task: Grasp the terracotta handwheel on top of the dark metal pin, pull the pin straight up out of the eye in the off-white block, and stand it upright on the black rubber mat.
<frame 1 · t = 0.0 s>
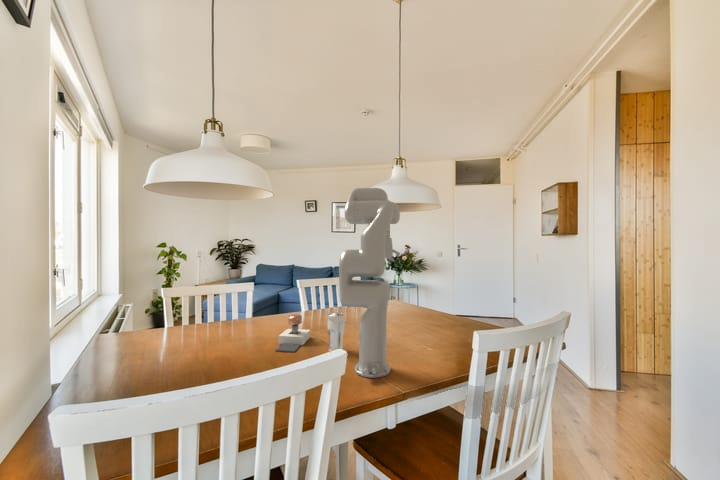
hand: (382, 269, 154), 31 cm above the table, tool pointing down, fingers open, 9 cm apart
rubber mat: (288, 348, 130), on the table
eye block: (294, 340, 141), on the table
beer glass: (335, 351, 129), on the table
hook pin: (294, 328, 141), in the eye block
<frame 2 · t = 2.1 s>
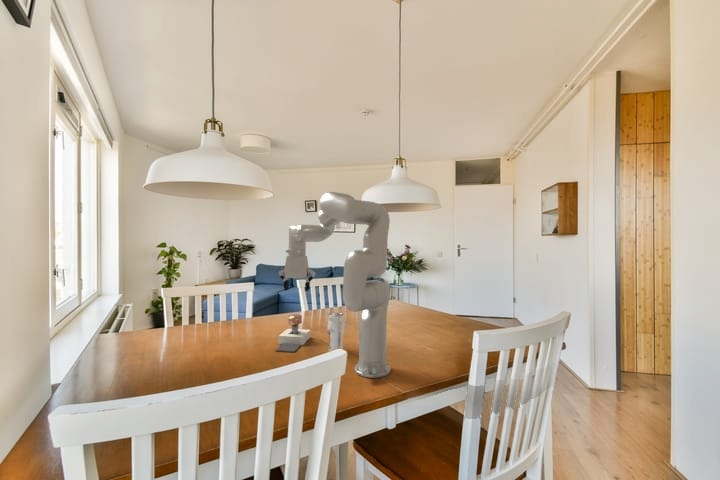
hand: (296, 290, 141), 23 cm above the table, tool pointing down, fingers open, 9 cm apart
nothing on the table moved.
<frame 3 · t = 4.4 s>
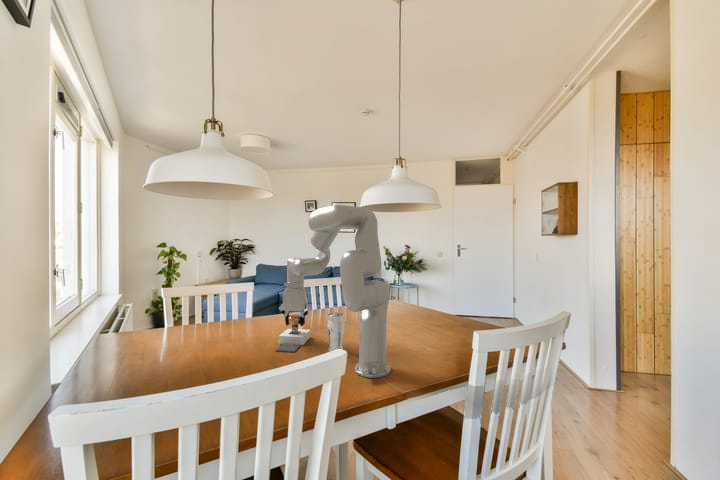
hand: (295, 324, 141), 7 cm above the table, tool pointing down, fingers closed on hook pin, 6 cm apart
hook pin: (294, 328, 141), in the eye block, touching gripper
everything else where it was.
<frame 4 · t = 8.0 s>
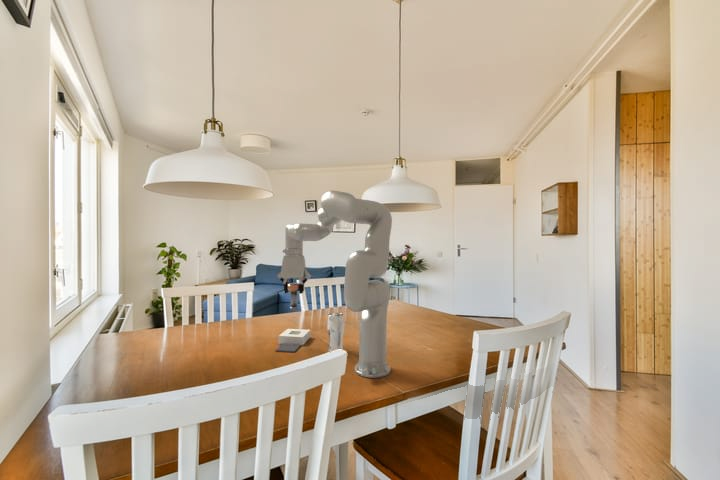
hand: (294, 292, 138), 22 cm above the table, tool pointing down, fingers closed on hook pin, 6 cm apart
hook pin: (294, 296, 138), point 21 cm above the table, touching gripper
everything else where it was.
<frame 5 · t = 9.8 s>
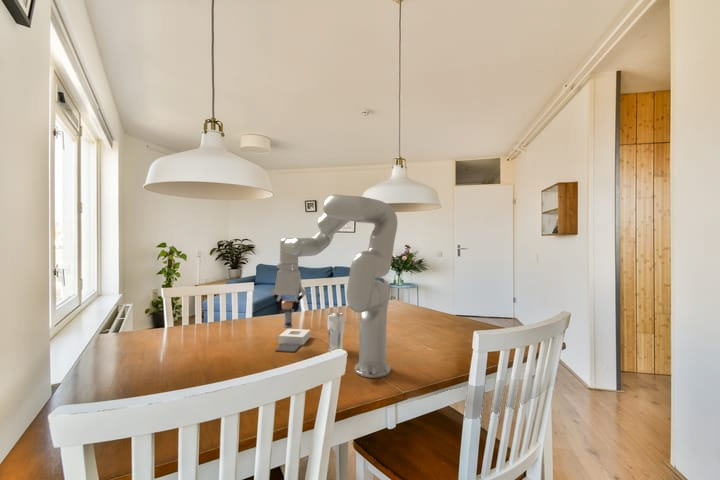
hand: (288, 310, 130), 16 cm above the table, tool pointing down, fingers closed on hook pin, 6 cm apart
hook pin: (288, 313, 130), point 14 cm above the table, touching gripper
everything else where it was.
when the fingers open (9 cm above the table, at t = 11.6 s): hook pin drops 1 cm, resting on rubber mat.
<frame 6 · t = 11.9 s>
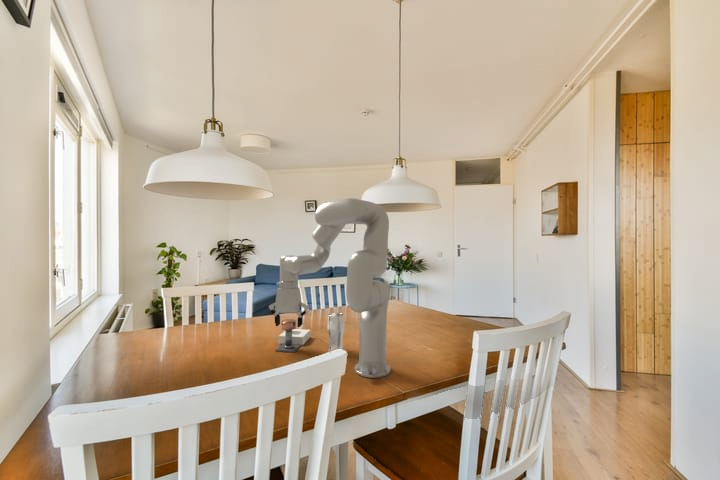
hand: (288, 325, 130), 10 cm above the table, tool pointing down, fingers open, 9 cm apart
hook pin: (288, 334, 130), on the rubber mat, point 6 cm above the table
everything else where it was.
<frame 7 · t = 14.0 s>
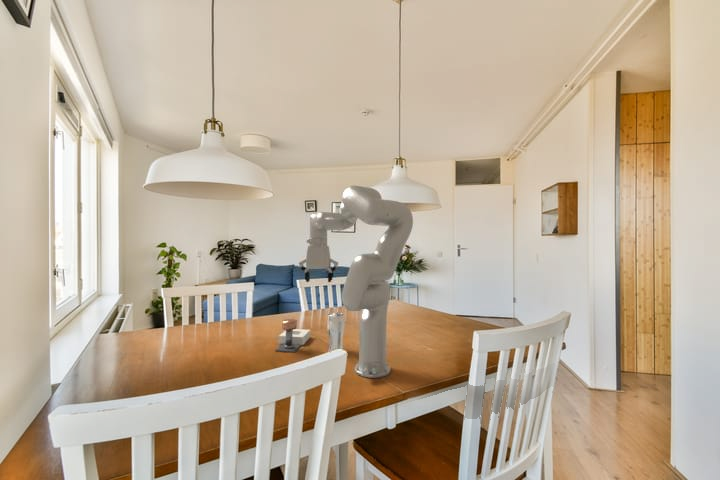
hand: (318, 281, 135), 27 cm above the table, tool pointing down, fingers open, 9 cm apart
nothing on the table moved.
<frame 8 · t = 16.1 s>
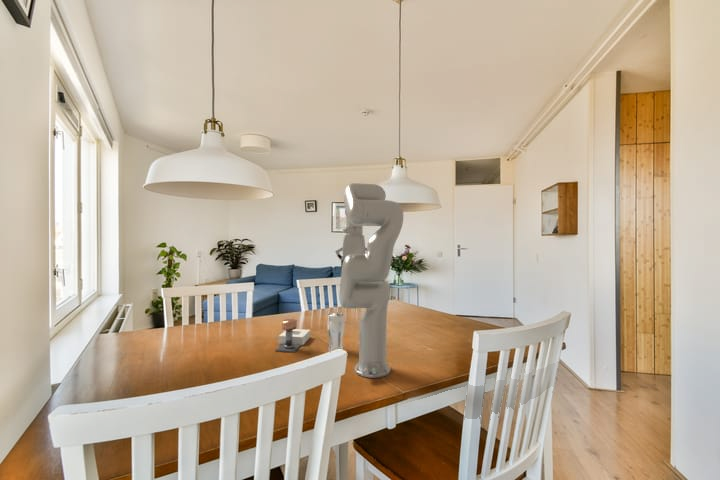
hand: (354, 269, 143), 32 cm above the table, tool pointing down, fingers open, 9 cm apart
nothing on the table moved.
at the end: hook pin 0.1 cm off-centre on the rubber mat, point 6.2 cm above the rubber mat's base; hook pin tilted 3°; the gripper is holding nothing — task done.
